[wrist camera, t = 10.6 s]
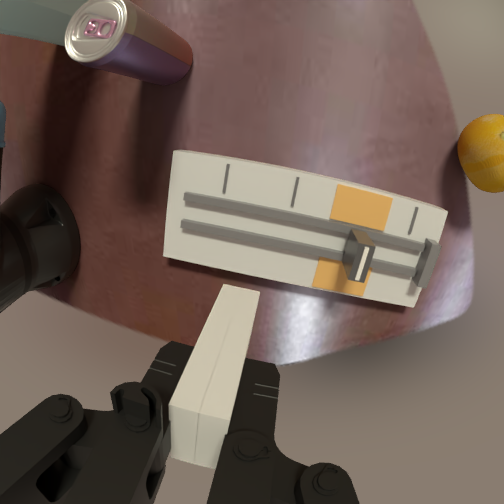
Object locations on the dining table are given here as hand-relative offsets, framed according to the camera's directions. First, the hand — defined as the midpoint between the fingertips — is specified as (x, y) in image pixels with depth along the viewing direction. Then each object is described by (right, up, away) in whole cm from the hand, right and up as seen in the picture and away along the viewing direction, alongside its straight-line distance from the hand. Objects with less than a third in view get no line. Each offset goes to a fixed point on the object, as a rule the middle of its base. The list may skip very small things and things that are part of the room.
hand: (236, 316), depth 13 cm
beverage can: (-8, +24, +17) cm, 30 cm away
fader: (+11, +4, +19) cm, 22 cm away
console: (+6, +5, +21) cm, 23 cm away
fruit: (+26, +15, +15) cm, 34 cm away
